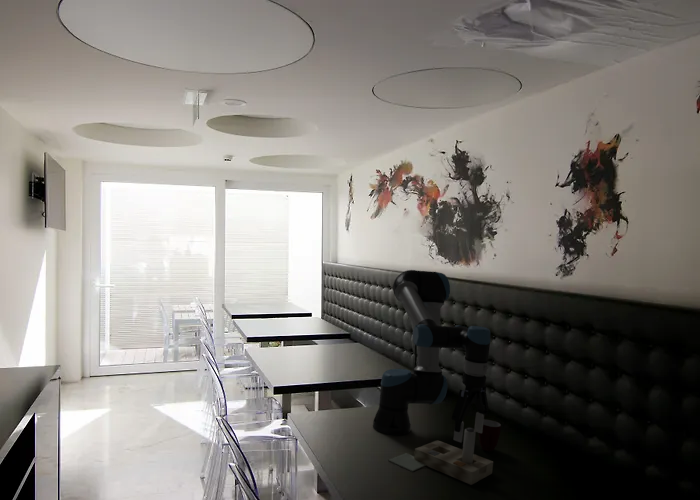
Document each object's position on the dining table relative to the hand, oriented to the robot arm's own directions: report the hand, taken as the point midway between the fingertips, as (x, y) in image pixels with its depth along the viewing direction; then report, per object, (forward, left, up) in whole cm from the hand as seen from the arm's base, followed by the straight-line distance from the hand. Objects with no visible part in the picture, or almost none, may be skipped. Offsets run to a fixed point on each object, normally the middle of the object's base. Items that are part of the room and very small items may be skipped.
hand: (468, 436), depth 167 cm
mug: (-4, +24, -12) cm, 27 cm away
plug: (+1, 0, -12) cm, 12 cm away
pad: (-16, -10, -12) cm, 22 cm away
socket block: (-5, 0, -12) cm, 13 cm away
